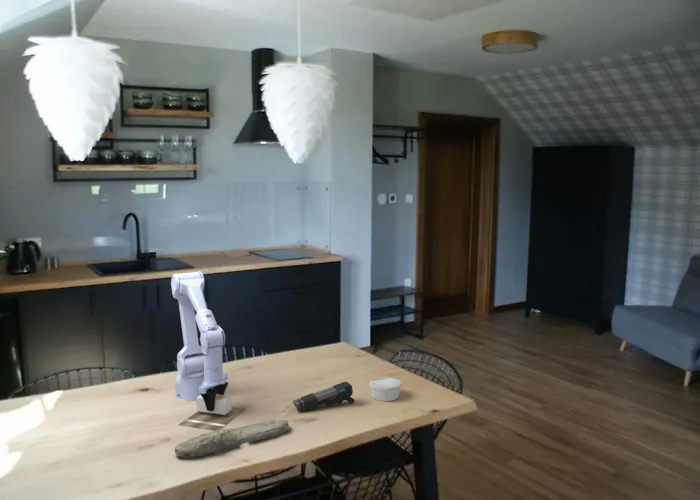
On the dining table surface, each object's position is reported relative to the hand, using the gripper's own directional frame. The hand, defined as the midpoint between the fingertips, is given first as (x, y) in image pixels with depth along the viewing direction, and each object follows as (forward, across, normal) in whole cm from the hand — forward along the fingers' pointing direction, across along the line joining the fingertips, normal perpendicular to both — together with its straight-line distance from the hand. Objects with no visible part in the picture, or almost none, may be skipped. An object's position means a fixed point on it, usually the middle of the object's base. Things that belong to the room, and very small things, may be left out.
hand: (214, 407), depth 192 cm
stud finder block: (+1, 0, 0) cm, 1 cm away
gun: (+3, +18, -31) cm, 36 cm away
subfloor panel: (+3, -2, -1) cm, 4 cm away
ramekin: (+3, +33, -48) cm, 59 cm away
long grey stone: (+3, -14, -15) cm, 21 cm away
